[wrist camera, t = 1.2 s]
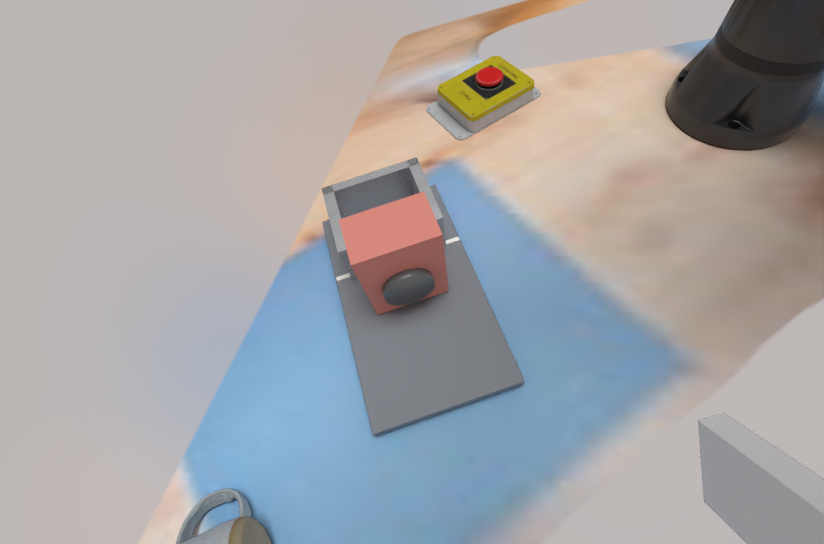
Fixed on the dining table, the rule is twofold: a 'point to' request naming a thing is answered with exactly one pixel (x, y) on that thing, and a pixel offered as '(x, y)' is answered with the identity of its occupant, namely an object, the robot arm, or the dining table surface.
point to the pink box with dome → (397, 252)
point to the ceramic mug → (231, 540)
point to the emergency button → (481, 97)
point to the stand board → (426, 343)
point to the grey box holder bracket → (375, 197)
